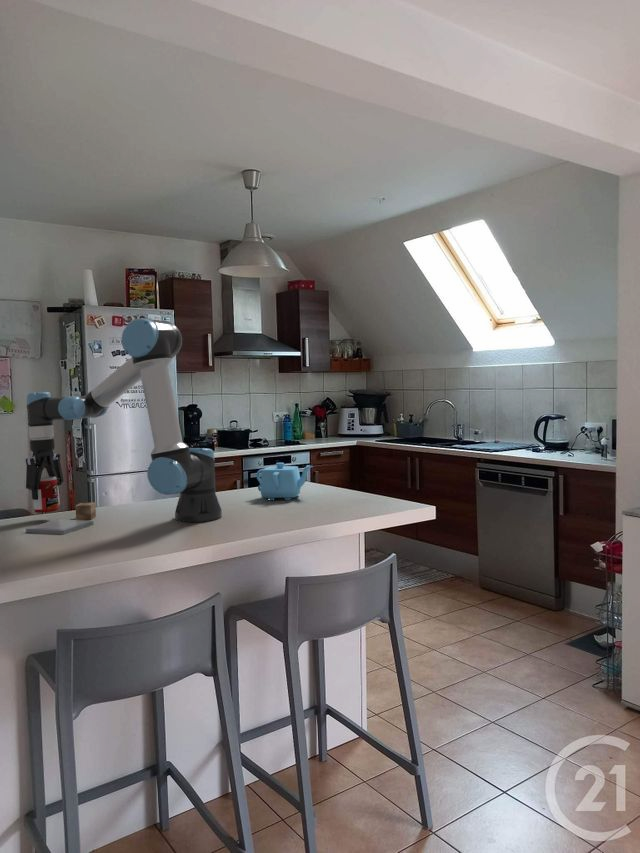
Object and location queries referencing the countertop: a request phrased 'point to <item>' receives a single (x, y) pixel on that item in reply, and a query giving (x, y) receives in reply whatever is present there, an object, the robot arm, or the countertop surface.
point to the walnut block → (85, 511)
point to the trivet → (59, 526)
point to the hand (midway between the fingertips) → (47, 506)
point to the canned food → (48, 494)
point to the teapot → (281, 481)
